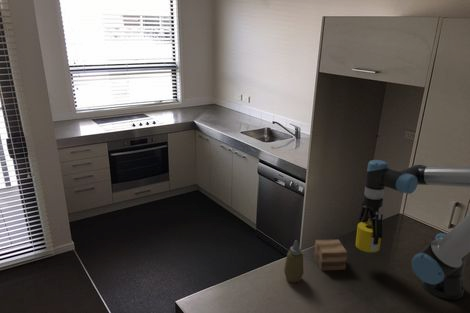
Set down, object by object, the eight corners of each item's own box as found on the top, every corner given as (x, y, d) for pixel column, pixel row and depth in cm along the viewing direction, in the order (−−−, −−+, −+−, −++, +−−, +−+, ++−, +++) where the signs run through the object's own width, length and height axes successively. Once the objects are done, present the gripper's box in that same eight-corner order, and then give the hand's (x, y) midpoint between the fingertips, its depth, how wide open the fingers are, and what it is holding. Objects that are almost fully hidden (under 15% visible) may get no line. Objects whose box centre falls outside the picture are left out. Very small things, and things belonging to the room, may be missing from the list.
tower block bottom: (345, 270, 159) (346, 261, 158) (321, 270, 158) (321, 261, 157) (336, 256, 169) (337, 247, 168) (313, 256, 168) (314, 248, 167)
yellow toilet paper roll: (350, 243, 160) (352, 224, 158) (367, 238, 165) (369, 220, 162) (367, 254, 152) (369, 234, 149) (384, 249, 156) (387, 229, 153)
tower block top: (346, 261, 157) (347, 252, 156) (321, 262, 156) (322, 253, 155) (337, 248, 168) (338, 239, 166) (314, 248, 167) (315, 239, 166)
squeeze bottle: (306, 278, 152) (310, 241, 146) (295, 287, 146) (299, 248, 141) (290, 270, 157) (293, 233, 152) (279, 278, 151) (282, 240, 146)
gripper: (396, 207, 141) (389, 257, 147) (369, 186, 163) (364, 231, 169) (378, 207, 141) (371, 258, 147) (353, 187, 162) (349, 231, 168)
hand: (367, 243), depth 158 cm, fingers closed on yellow toilet paper roll, 10 cm apart
